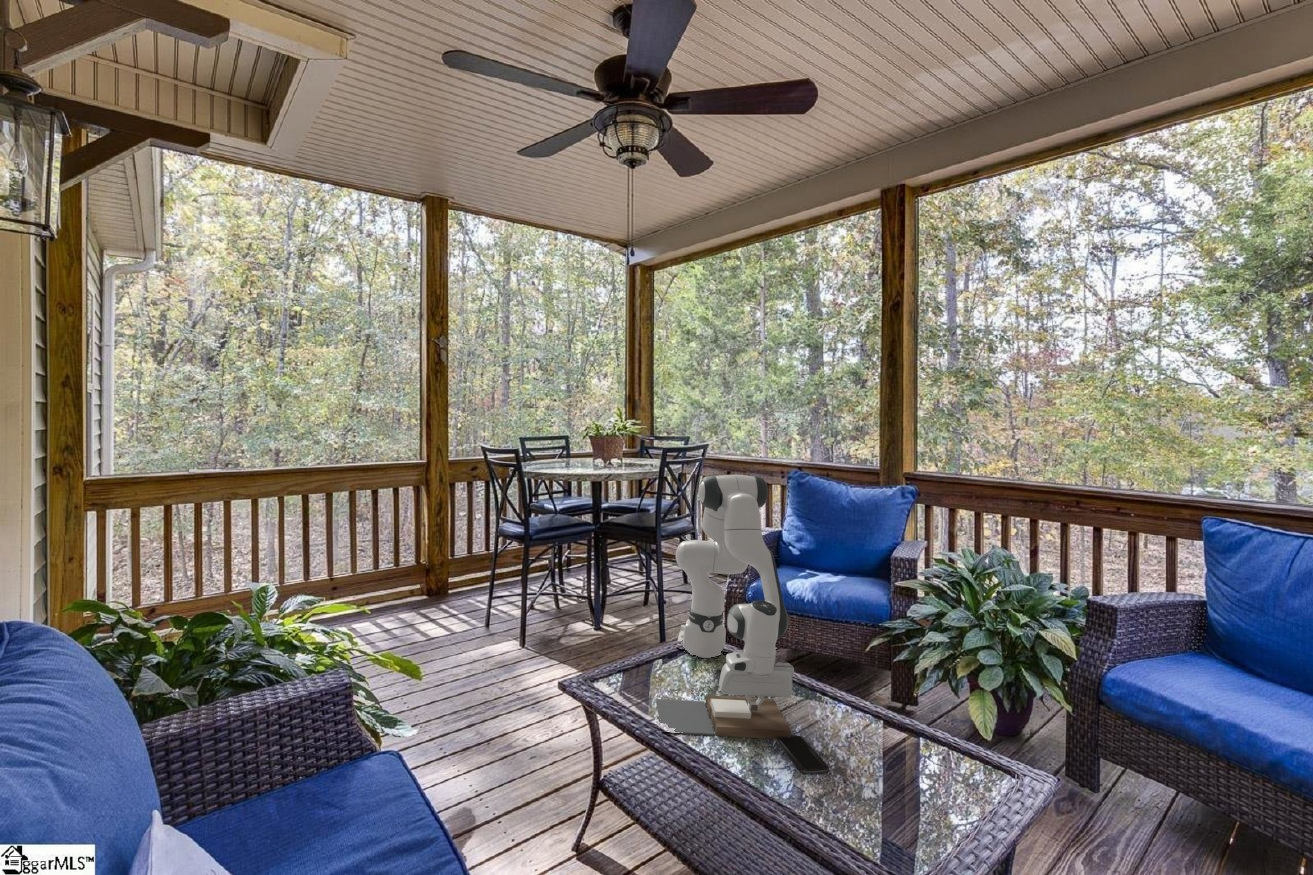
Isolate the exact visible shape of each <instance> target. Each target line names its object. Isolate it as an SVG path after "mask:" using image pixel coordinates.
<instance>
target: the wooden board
mask: <svg viewBox="0 0 1313 875" xmlns="http://www.w3.org/2000/svg"><path fill="white" fill-rule="evenodd" d="M705 696H706V697H705V706H706V709H707V712H708V716H709V719H710V722H711V725H712V728H713V732H714V736H717V737H732V738H733V737H735V738H751V739H753V738H754V739H769V740H770V739H772V740H776V738H777V737H790V736H791V734H792V733H791V732H792V730H791V728H790V726H789V724H788V723H787V721H786V719H785V717H784V714H783V713H782V712H781V710H780V708H779V706H778V704H777V702H776V700H775V699H774V698H769V697H765V698H764V701H763V702H762V703H761V705H760V706H759V711H756V710H750V712H751V719H747V718H728V717H715V716H714V713H713V710H712V708H711V705H710V701H711V699H726V700H744V701H746V703H747V705H748V701H747V699H746V696H735V695H734V696H733V695H732V696H731V695H715V694H712V695H710V694H706V695H705ZM758 698H759V697H752V698H751V699H750V698H749V699H750V701H751V702H756V701H757V699H758Z"/></svg>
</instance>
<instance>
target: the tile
mask: <svg viewBox="0 0 1313 875" xmlns="http://www.w3.org/2000/svg"><path fill="white" fill-rule="evenodd" d="M710 705H711V708H712V710H713V713H714V716H715V717H728V718H747V719H751V712H750V709H749V707H748V705H747V703H746V701H744V700H726V699H711V701H710Z"/></svg>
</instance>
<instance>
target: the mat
mask: <svg viewBox="0 0 1313 875" xmlns="http://www.w3.org/2000/svg"><path fill="white" fill-rule="evenodd" d="M655 701H656V707H657V708H658V709H657V715H658V714H659V715H658V719H661V720H660V721H661V722H659V724H660V723H666V724H668V727H669V728H676V729H675V730H674V731H675V732H683V733H687V734H686V735H693V736H694V735H695V736H696V735H697V736H713V737H714V736H715V731H714V728H713V725H712V722H711V719H710V715H709V712H708V709H707V706H706V702H705V701H703V700H702V701H701V700H683V699H668V698H667V699H665V698H656V700H655Z"/></svg>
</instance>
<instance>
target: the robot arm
mask: <svg viewBox="0 0 1313 875" xmlns="http://www.w3.org/2000/svg"><path fill="white" fill-rule="evenodd" d="M768 488H769V487H768V484H767V482H766V481H765V479H764V478H763V477H761V476H757V475H747V474H746V475H745V474H721V475H714V474H713V475H712V474H711V475H707V476H703V478H702V479H701V481H700V482H699V486H698V490H697V491H698V497H699V498H698V499H699V500H700V501H699V502H700V504H701V505H702V506H704V510H703V515H702V516H703V517H702V521H701V528H702V531H703V533H704V534H705V535H706V536H707V537H708V538H709V539H711V540H713V541H711V540H699V539H692V540H691V539H690V540H683V541H681V542H680V543H679V544H678V546H677V547H676V550H675V562H676V563H677V565H678V567H679V568H680V570H681V569H682V571H684V572H685V575H686V576H687V577H688V579H689V581H690V585H691V606H690V609H689V611H688V618H687V620H686V621H685V624H681V625H680V631H679V632H678V637H677V641H682V640H683V647H684V648H685V650H687V651H688V652H689V653H690V654H689V655H691V656H693V655H696V656H695V657H697V656H698V657H697V658H704V659H712V658H711V657H715V656H717V655H719V654H720V653H721V651H722V650H723V648H724V647H725V645H726V635H727V634H726V633H727V630H728V632H729V633H730V634H731V635H732V636H733V637H734V638H736V639H738V640H741V641H743V642H744V646H743V649H741V650H736V651H734V652H728V653H726V656H725V662H726V663H724V665H722V668H721V672H720V676H719V681H718V688H719V689H720V692H721V693H722V694H723V695H732V696H733V695H734V696H735V695H736V696H744V697H746V699H747V701H748V707H749V709H750V710H756V711H759V706H760V705H761V703H762V702H763V701H764V698H766V697H768V698H769V697H770V698H771V697H772V698H790V697H791V696H792V694H793V678H794V676H795V668H794V666H793V665H792V664H790V662H779V661H776V654H777V651H776V650H777V649H776V643H777V642H778V641H777V640H779V639H780V638H781V637H783V635H784V634H785V633H786V631H787V630H788V628H789V625H790V621H789V620H790V619H789V614H788V611H787V608H786V607H785V606H786V605H785V603H784V599H783V593H782V589H781V588H782V587H781V583H780V578H779V574H778V568H777V564H776V560H775V557H774V554H773V552H772V550H771V548H768V546H767V544H766V543H765V540H764V537H763V533H762V532H763V531H762V529H763V528H762V520H761V512H760V508H762V507H764V506H765V504H766V503H767V501H768V497H769V496H768V494H769V492H768V491H769V489H768ZM748 566H751V567H752V568H754V569H755V570H756V571H757V573H758V574H759V577H760V581H761V586H762V591H763V597H764V600H762V599H758V600H753V601H751V603H738V604H733V605H732V606H731V607H730V608H729V610H728V612H727V615H726V620H725V623H726V628H725V626H724V625H723V621H724V611H723V610H724V601H725V600H724V599H725V593H724V592H725V591H724V589H723V588H722V586H721V585H720V584H718V583H716V581H713V580H712V579H710V577H709V575H710V574H720V575H737V574H743V573H744V572H745V571H746V570H747V568H748ZM685 639H686V640H685ZM715 658H716V657H715ZM752 696H754V697H756V696H757V698H758V699H757V701H756V702H751V701H750V699H751V698H753V697H752ZM749 698H750V699H749Z"/></svg>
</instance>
